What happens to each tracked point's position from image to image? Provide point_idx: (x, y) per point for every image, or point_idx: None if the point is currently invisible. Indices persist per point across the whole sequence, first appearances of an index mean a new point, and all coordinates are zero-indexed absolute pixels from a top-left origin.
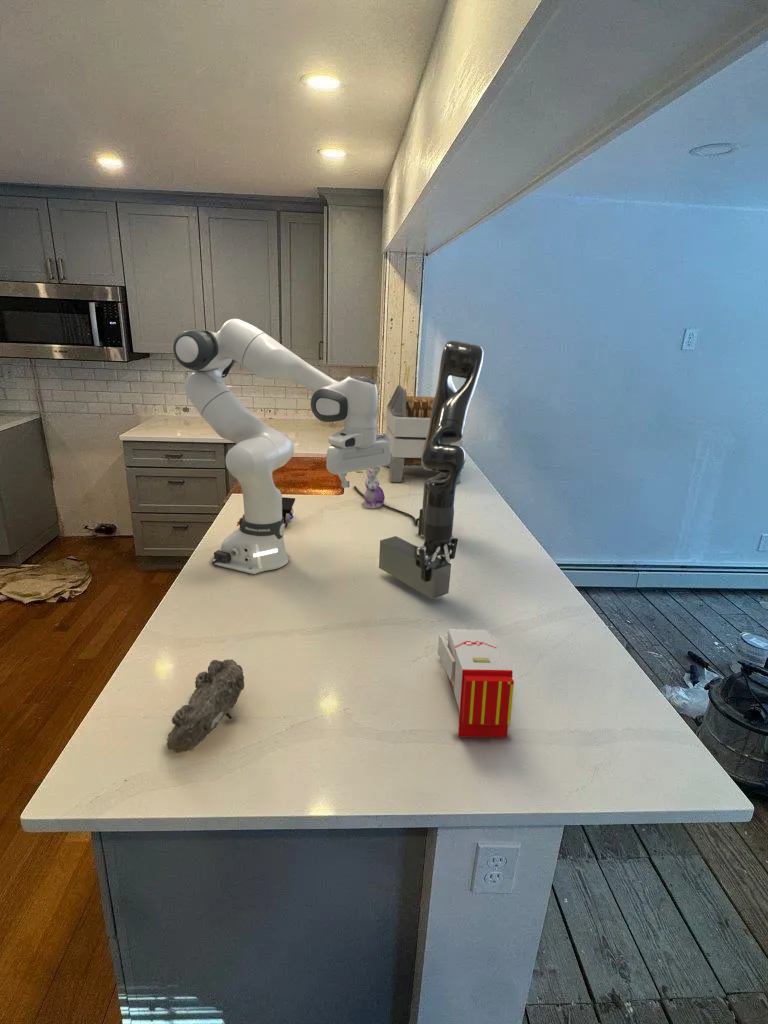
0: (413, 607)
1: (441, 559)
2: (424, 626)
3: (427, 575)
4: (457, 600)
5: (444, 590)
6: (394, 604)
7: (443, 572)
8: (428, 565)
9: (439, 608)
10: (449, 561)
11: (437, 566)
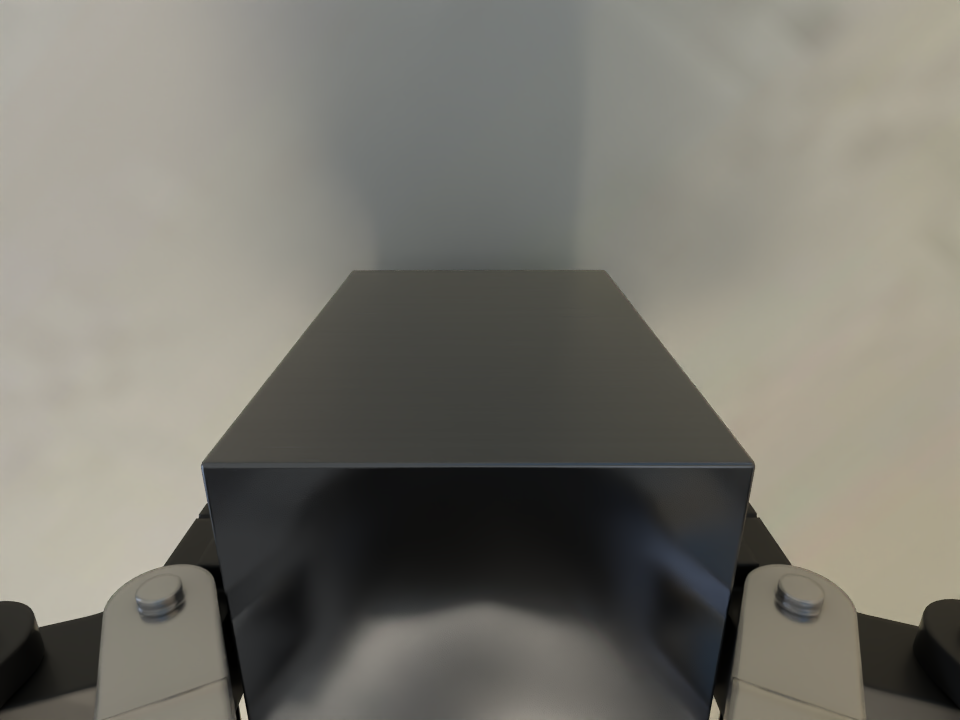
0: (723, 348)
1: (258, 704)
2: (955, 4)
3: None
4: (271, 202)
5: (421, 284)
6: (804, 472)
7: (461, 396)
8: (830, 644)
9: (543, 191)
10: (136, 581)
11: (580, 544)
